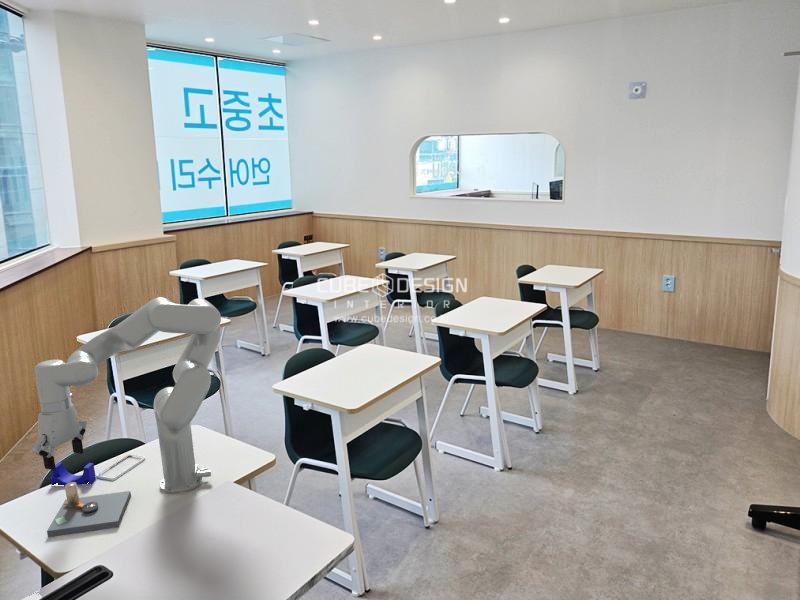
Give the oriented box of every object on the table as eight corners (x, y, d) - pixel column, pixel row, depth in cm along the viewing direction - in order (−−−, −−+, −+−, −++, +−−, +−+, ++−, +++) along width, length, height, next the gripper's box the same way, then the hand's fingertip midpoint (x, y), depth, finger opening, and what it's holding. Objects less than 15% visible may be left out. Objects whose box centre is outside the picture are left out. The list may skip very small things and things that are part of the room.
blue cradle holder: (51, 486, 189) (48, 469, 188) (60, 479, 193) (57, 462, 192) (87, 487, 188) (85, 470, 187) (96, 480, 192) (93, 463, 191)
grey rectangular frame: (113, 482, 191) (146, 460, 205) (113, 478, 191) (146, 456, 205) (95, 479, 194) (129, 457, 207) (94, 475, 193) (128, 453, 207)
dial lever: (101, 506, 173) (98, 484, 171) (90, 514, 169) (87, 492, 168) (71, 501, 176) (68, 479, 175) (60, 508, 172) (56, 486, 171)
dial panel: (131, 496, 182) (130, 490, 181) (118, 527, 166) (117, 520, 166) (66, 505, 178) (65, 498, 177) (48, 537, 163) (46, 530, 162)
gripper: (70, 391, 175) (78, 445, 179) (17, 415, 159) (27, 473, 163) (91, 394, 173) (98, 448, 177) (39, 418, 157) (49, 477, 161)
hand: (64, 460), depth 170 cm, fingers open, 9 cm apart
